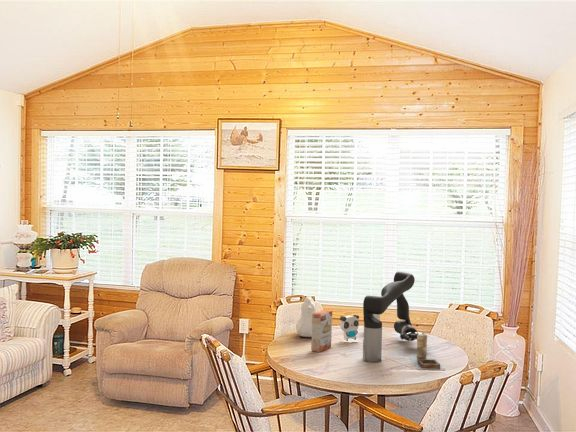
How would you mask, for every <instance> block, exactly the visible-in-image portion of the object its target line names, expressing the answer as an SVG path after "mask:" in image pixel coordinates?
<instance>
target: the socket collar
mask: <svg viewBox="0 0 576 432" xmlns="http://www.w3.org/2000/svg"><path fill="white" fill-rule="evenodd" d="M435 359H436V358H435ZM435 359H417V363H418V364H419V365H420V367H421V368H437V369H436V370H441V369H440V364H441V363H440V362H439V361H438V360H437V359H436V360H437V361H438V362H439V363H440V364H439V363H438V362H437V361H436V360H435Z"/></svg>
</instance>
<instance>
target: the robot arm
mask: <svg viewBox="0 0 576 432" xmlns="http://www.w3.org/2000/svg"><path fill="white" fill-rule="evenodd" d="M415 279H416V278H415V276H414V275H413V274H412V273H409V272H405V271H396V272H395V274H394V276H393V282H388V283H387V284H385V285H384V286H383V288H382V289H381V292H380V294H381V296H377V295H366V296H365V297H364V299H363V303H362V304H363V306H362V309H363V310H362V311H363V340H362V348H363V349H362V360H363V361H364V362H369V363H370V362H371V363H378V362H381V361H382V358H383V357H382V346H383V343H382V341H383V337H382V336H383V322H382V321H381V319H380V320H378V319H376V318H375V317H374V316H373V314H378V315H379V314H380V315H383V314H384V312H385V311H386V310H387V309H388V308H389V307H390V306H391V305H392V303H394V302H395V301H396V317H397V318H398V319H399V320H396V321H395V322H394V323H393V329H394V331H395V332H396V333H397V334H399V338H400V339H401V340H405V341H407V342H410V341H411V342H413V341H416V340H417V335H418V334H424V335H427V334H426V333H425V332H422V333H419V332H418V330H417V329H416V328H415V327H413V325H412V322H411V319H410V306H409V303H408V300H407V298H406V296H405V295H404V293H405V292H407V291H409V290H411V289H412V287H413V286H414V284H415Z"/></svg>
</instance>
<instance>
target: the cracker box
mask: <svg viewBox="0 0 576 432" xmlns="http://www.w3.org/2000/svg"><path fill="white" fill-rule="evenodd" d="M332 327H333V311H332V310H327V309H323V310H319V311H316V313H312V337H311V341H310V342H311V346H310V347H311V350H312V351H311V352H316V351H318V352H317V353H321V352H323V351H322V350H324V351H326V350H327V348H328V349H330V348H332V334H333V332H332V330H333V329H332ZM329 347H330V348H329ZM325 349H326V350H325ZM320 351H321V352H320Z"/></svg>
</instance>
